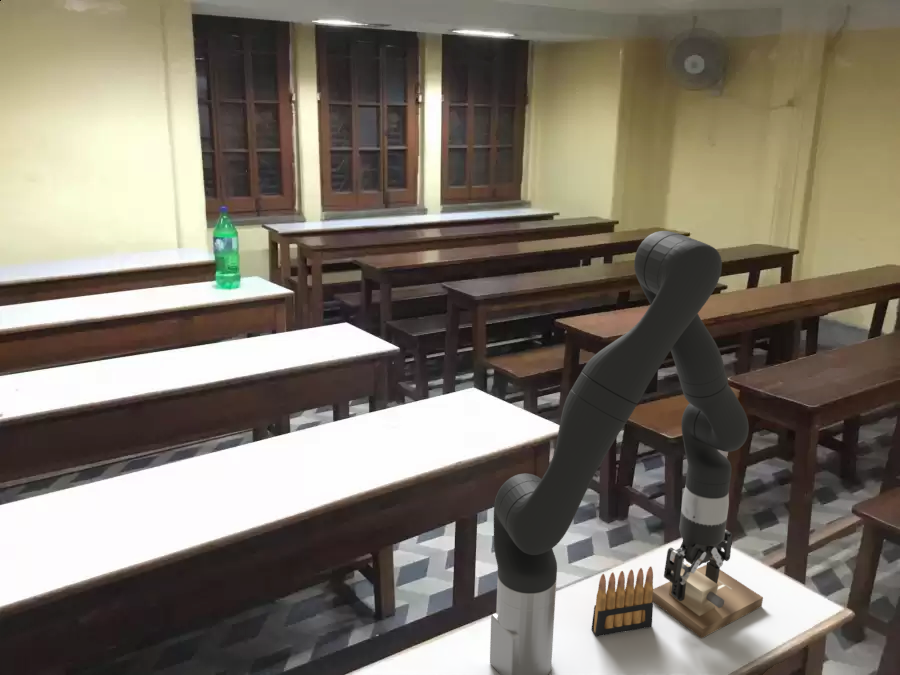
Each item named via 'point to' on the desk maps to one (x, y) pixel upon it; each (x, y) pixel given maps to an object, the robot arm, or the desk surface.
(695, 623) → the walnut board
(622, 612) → the ammunition clip
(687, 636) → the desk surface
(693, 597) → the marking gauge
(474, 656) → the desk surface
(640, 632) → the desk surface
